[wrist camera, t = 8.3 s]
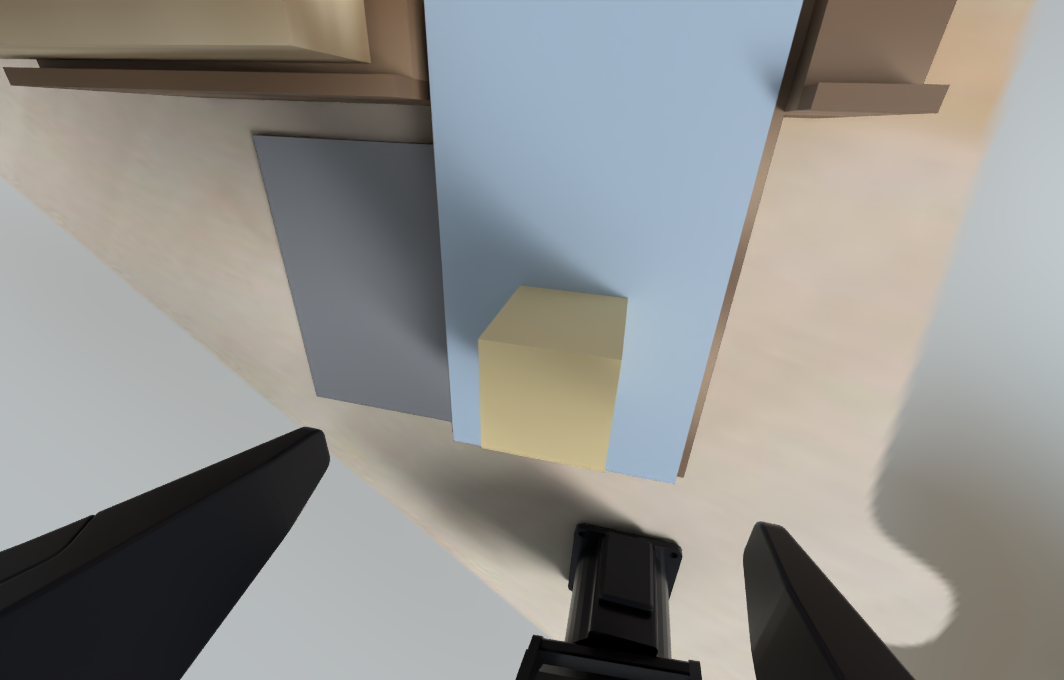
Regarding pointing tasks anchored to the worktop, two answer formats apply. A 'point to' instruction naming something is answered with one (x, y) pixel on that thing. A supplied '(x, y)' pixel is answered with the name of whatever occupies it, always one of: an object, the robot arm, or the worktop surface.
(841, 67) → the brown wooden box
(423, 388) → the mat
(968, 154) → the worktop surface
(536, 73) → the lid
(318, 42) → the beige block
